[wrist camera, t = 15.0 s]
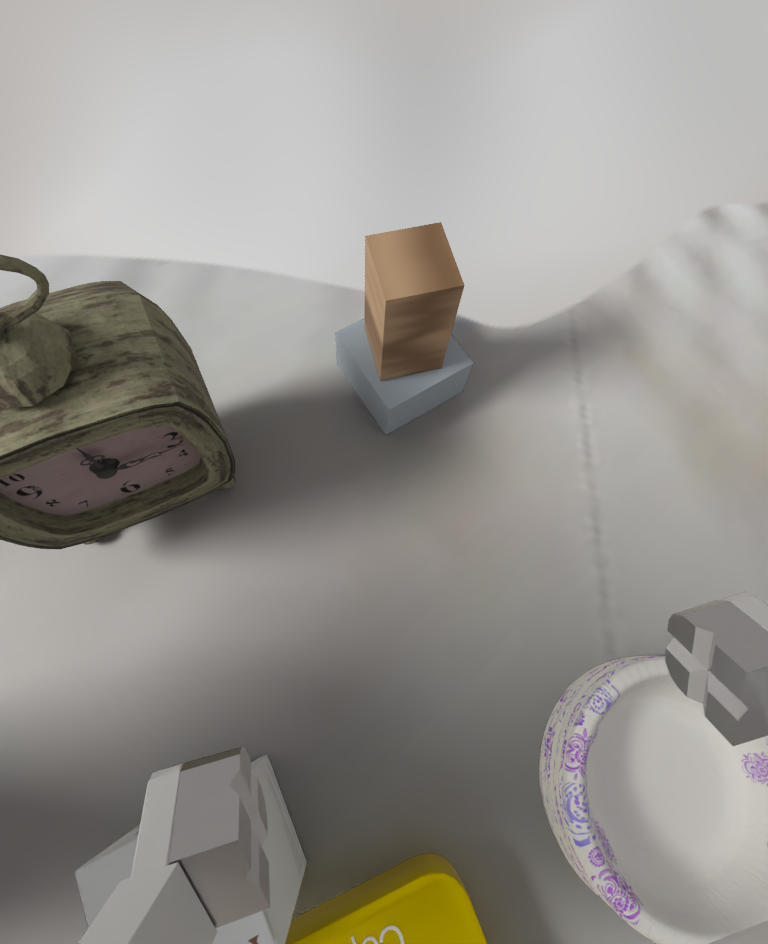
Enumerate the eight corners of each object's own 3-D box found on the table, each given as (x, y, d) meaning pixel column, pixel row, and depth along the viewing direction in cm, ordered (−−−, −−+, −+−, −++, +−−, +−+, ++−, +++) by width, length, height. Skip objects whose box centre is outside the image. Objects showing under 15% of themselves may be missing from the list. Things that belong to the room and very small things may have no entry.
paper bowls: (779, 856, 37) (886, 903, 29) (574, 939, 35) (634, 1013, 27) (677, 631, 42) (748, 623, 34) (492, 692, 39) (524, 697, 32)
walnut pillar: (380, 381, 42) (385, 300, 33) (364, 327, 44) (365, 236, 34) (441, 368, 43) (464, 285, 33) (424, 315, 44) (440, 222, 35)
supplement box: (268, 750, 38) (227, 787, 26) (309, 864, 35) (286, 963, 23) (163, 803, 36) (69, 868, 24) (199, 926, 34) (115, 1064, 22)
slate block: (385, 436, 46) (388, 409, 42) (337, 365, 48) (335, 332, 44) (461, 393, 48) (473, 362, 43) (411, 326, 50) (417, 291, 45)
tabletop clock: (74, 567, 41) (-301, 431, 18) (45, 464, 44) (-315, 226, 20) (257, 493, 44) (142, 288, 20) (219, 400, 46) (79, 124, 23)
